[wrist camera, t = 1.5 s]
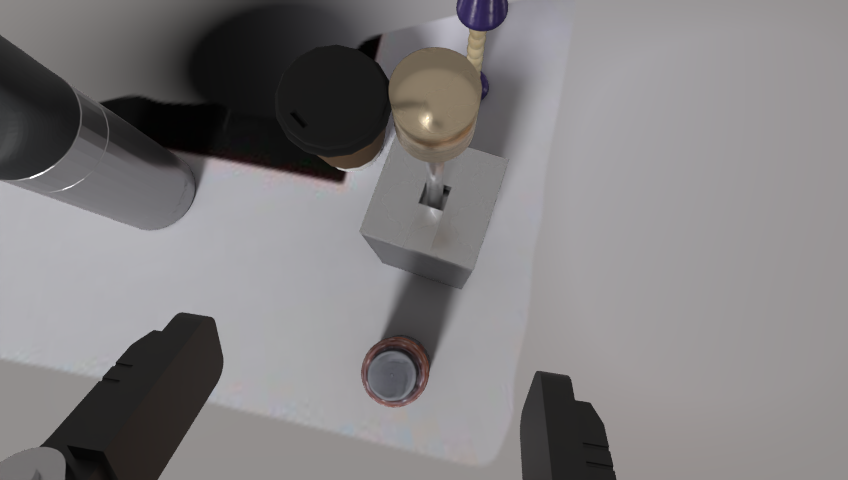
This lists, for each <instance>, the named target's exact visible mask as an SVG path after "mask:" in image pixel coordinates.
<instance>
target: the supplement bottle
mask: <svg viewBox="0 0 848 480" xmlns="http://www.w3.org/2000/svg"><path fill="white" fill-rule="evenodd" d="M429 371H430V361H429V356H428V354H427V351H426V350H425V348H424V347H423V346H422V344H421V343H420V342H418V341H417V340H415V339H414V338H411V337H408V336H394V337H390V338H387V339H384V340H382V341H380V342H378V343H377V344H375V345H374V346H373V347H372V348H371V349H370V350H369V351H368V353H367V354H366V356H365V359H364V361H363V364H362V370H361V377H362V382H363V385H364V388H365V390H366V392H367V393H368V395H369V396H370V397H371V398H372V399H373V400H375V401H376V402H378V403H379V404H381V405H384V406H388V407H402V406H405V405H408V404H409V403H411V402H413V401H414V400H416V399H417V398H418V397H419V396H420V395H421V394H422V392H423V391H424V389H425V387H426V385H427V382H428V378H429Z"/></svg>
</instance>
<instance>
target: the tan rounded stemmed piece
mask: <svg viewBox="0 0 848 480" xmlns="http://www.w3.org/2000/svg"><path fill="white" fill-rule="evenodd" d="M481 95H482V84H481V79H480V76H479V74H478V72H477V70H476V68H475V67H474V65H473V64H472V63H471V62H470V61H469V60H468V59H467V58H466V57H464V56H463V55H461V54H460V53H458V52H456V51H453V50H450V49H446V48H440V47H431V48H425V49H421V50H418V51H415V52H413V53H411V54H410V55H408V56H407V57H405V58H404V59H403V60H402V61H401V62H400V63H399V64H398V65H397V67H396V68H395V70H394V71H393V73H392V76H391V79H390V82H389V99H390V104H391V109H392V114H393V119H394V125H395V130H396V134H397V138H398V140H399V142H400V144H401V146H402V147H403V148H404V150H405V151H406V152H407V153H409V154H410V155H411V156H413V157H414V158H416V159H418V160H421V161H424V162H425V166H426V184H427V185H426V188H425V191H424V193H423V196H422V199H421V202H420V204H422V205H426V206H429V207H432V208H435V209H438V210H441V211H444V208H445V205H446V202H447V199H448V196H449V193H450V191H449V190H446V189H443V185H444V168H445V162H446V161H449V160H451V159H454V158H456V157H457V156H459V155H460V154H461V153H463V152H464V151H465V150H466V148H467V147H468V146H469V144H470V143H471V141H472V138H473V135H474V131H475V126H476V121H477V116H478V111H479V106H480V101H481Z"/></svg>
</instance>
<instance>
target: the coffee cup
mask: <svg viewBox="0 0 848 480" xmlns="http://www.w3.org/2000/svg"><path fill="white" fill-rule="evenodd" d="M275 107H276V118H277V120H278V122H279V123H280V125H281V127H282V129H283V131H284V133H285V134H286V136H287V138H288V139H289V140H291V141H292V142H293V143H295V144H296V145H297V146H299V147H300V148H301V149H303V150H304V151H305V152H308V153H312V154H316V155H318V156H319V157H320V158H322V159H323V160H324V161H326V162H327V163H328V164H330V165H331V166H334V167H336V168H337V169H339V170H343V171H347V172H355V171H362V170H363V169H365V168H367V167H369V166H371V165H372V164H373V163H374V162H375V160H376V159H377V158H378V157H379V154H380V151H381V148H382V144H383V141H384V138H385V129H386V126H387V123H388V119H389V116H390V113H391V110H392V109H391V104H390V99H389V80H388V78H387V77H386V75H385V73H384V72H383V70H382V68H381V67H380V65H379V64H378V63H377V62H376V61H374V60H373V59H371V58H370V57H368V56H367V55H365V54H364V53H363V52H361V51H359V50H357V49H353V48H348V47H344V46H340V45H332V46H324V47H316V48H314V49H312V50H310V51H308V52H306V53H305V54H303V55H301V56H299V57H297V58H296V59H295V60H294V61H293V62H292V63H291V65H290V66H289V67H288V68H287V69H286V70H285V71H284V73H283V75H282V77H281V80H280V83H279V86H278V88H277V91H276V94H275Z"/></svg>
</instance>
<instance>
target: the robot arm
mask: <svg viewBox="0 0 848 480" xmlns="http://www.w3.org/2000/svg"><path fill="white" fill-rule="evenodd" d="M0 180H1V181H3V182H6V183H9V184H12V185H15V186H18V187H21V188H24V189H26V190H30V191H33V192H36V193H39V194H41V195H44V196H47V197H50V198H53V199H56V200H59V201H61V202H64V203H67V204H70V205H73V206H76V207H79V208H82V209H84V210H87V211H90V212H93V213H96V214H99V215H102V216H105V217H107V218H110V219H113V220H116V221H119V222H121V223H124V224H127V225H130V226H133V227H136V228H139V229H144V230H158V229H161V228H165V227H167V226H169V225H171V224H173V223H175V222H176V221H177V220H179V219H180V218H181V217H182V216H183V215H184V214H185V213H186V211H187V210H188V208H189V207H190V205H191V203H192V200H193V197H194V193H195V181H194V177H193V174H192V171H191V170H190V168H189V167H188V165H187V164H186V163H185V162H184V161H183V160H181V159H180V158H178V157H177V156H175V155H174V154H173V153H171V152H170V151H168V150H167V149H165V148H164V147H162V146H161V145H160V144H158V143H157V142H155V141H154V140H152V139H151V138H149V137H148V136H146V135H145V134H143V133H142V132H140V131H139V130H137V129H136V128H135V127H133V126H132V125H130V124H129V123H127V122H126V121H124V120H123V119H121V118H120V117H118V116H117V115H115V114H114V113H112V112H111V111H110V110H108V109H107V108H105V107H104V106H102V105H101V104H99V103H98V102H96V101H95V100H93V99H92V98H90V97H89V96H87V95H86V94H84V93H83V92H81V91H80V90H78V89H77V88H75V87H73V86H72V85H71V84H69V83H68V82H66V81H65V80H64V79H62V78H61V77H59V76H58V75H56V74H55V73H53V72H52V71H50V70H49V69H47V68H46V67H44V66H43V65H42V64H40V63H38V62H37V61H36V60H34V59H33V58H32V57H30V56H29V55H28V54H26V53H25V52H24V51H22V50H21V49H19V48H18V47H16V46H15V45H13V44H12V43H11V42H9V41H8V40H6V39H5V38H4V37H2V36H1V35H0ZM222 369H223V354H222V350H221V345H220V341H219V336H218V332H217V327H216V323H215V320H214V319H213V318H212V317H208V316H202V315H196V314H189V313H183V312H182V313H179V314H177V315H176V316H175V317H174V318H173V319H172V320H171V321H170V322H169V323H168V325H167V326H166V327H165V328H164V329H163V331H156V330H153V331H152V332H150V333H149V334H147V335H146V336H144V337H142V338H141V339H139V340H138V341H136V342H135V343H133V344H132V345H131V346H130V347H129V348H128V349H127V350H126V352H125V353H124V354H123V355H122V356H121V357H120V358H119V359H118V361H117V362H116V365H115V366H112V367H111V368H110V370H109V371H108V372H107V373H106V374H105V375H104V376H103V379H102V381H99V382H98V383H97V384H96V385H95V386H94V388H93V389H92V390H91V391H90V392H89V393H88V394H87V396H86V397H85V398H84V399H83V400H82V401H81V402H80V403H79V404H78V406H77V407H76V408H75V409H74V410H73V411H72V412H71V413H70V415H69V416H68V417H67V418H66V419H65V420H64V421H63V422H62V424H61V425H60V426H59V427H58V428H57V429H56V430H55V432H54V433H53V434H52V435H51V436H50V437H49V438H48V439H47V440H46V441H45V442H44V443H43V444H42V445H41V446H40V447H37V448H31V449H28V450H24V451H21V452H19V453H16V454H14V455H12V456H10V457H8V458H7V459H5V460H3V461H2V462H0V480H158V478H159V476H160V475H161V473H162V471H163V470H164V468H165V467H166V465H167V464H168V462H169V460H170V459H171V457H172V455H173V454H174V452H175V451H176V449H177V447H178V446H179V444H180V442H181V441H182V439H183V437H184V436H185V434H186V433H187V431H188V429H189V428H190V426H191V425H192V423H193V422H194V420H195V418H196V417H197V415H198V413H199V412H200V410H201V408H202V407H203V405H204V404H205V402H206V400H207V399H208V397H209V396H210V394H211V392H212V391H213V389H214V388H215V386H216V384H217V383H218V381H219V379H220V376H221V373H222ZM520 442H521V459H522V476H523V477H522V478H523V480H616V475H615V471H613V462H612V458H611V454H610V451H609V445H608V441H607V436H606V432H605V427H604V424H603V422H602V421H601V419H600V417H599V416H598V414H597V413H596V411H595V410H594V408H593V406H592V405H591V403H589V402H583V401H576V400H575V399H574V393H573V387H572V382H571V379H570V377H569V376H567V375H561V374H555V373H548V372H542V371H537V372H536V373H535V375H534V378H533V381H532V384H531V387H530V390H529V392H528V395H527V398H526V401H525V404H524V407H523V410H522V415H521V424H520Z"/></svg>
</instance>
